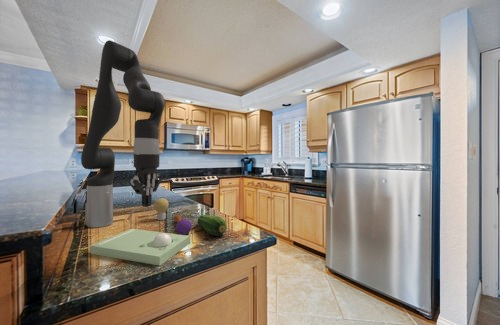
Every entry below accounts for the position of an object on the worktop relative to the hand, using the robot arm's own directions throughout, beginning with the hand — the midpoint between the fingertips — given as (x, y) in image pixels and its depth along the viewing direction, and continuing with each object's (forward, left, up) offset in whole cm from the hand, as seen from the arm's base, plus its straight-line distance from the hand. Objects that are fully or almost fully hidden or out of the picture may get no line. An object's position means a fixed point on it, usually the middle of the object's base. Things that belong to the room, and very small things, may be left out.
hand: (146, 206), depth 70 cm
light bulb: (-16, +28, -14) cm, 35 cm away
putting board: (-1, 0, -14) cm, 14 cm away
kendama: (0, +20, -14) cm, 25 cm away
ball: (+6, 0, -11) cm, 13 cm away
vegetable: (+12, +22, -14) cm, 29 cm away
